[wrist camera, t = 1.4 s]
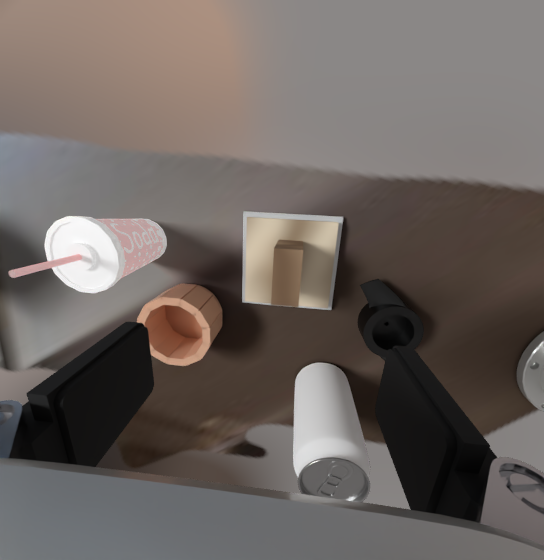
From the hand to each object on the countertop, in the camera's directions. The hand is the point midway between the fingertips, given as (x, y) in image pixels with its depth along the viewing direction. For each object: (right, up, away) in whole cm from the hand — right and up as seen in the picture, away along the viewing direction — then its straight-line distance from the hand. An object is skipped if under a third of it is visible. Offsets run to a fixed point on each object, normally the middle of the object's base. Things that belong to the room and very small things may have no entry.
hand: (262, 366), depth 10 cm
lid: (+2, +5, +17) cm, 18 cm away
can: (+6, -9, +22) cm, 25 cm away
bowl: (-9, -1, +20) cm, 22 cm away
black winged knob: (+13, -1, +19) cm, 23 cm away
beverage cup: (-14, +8, +19) cm, 24 cm away
